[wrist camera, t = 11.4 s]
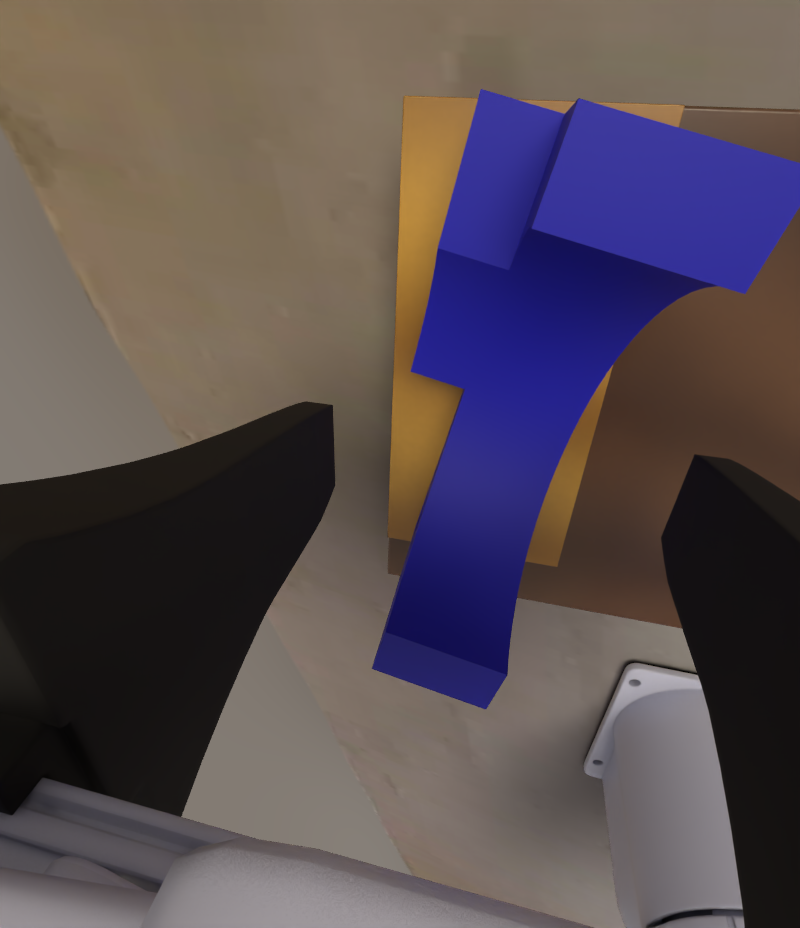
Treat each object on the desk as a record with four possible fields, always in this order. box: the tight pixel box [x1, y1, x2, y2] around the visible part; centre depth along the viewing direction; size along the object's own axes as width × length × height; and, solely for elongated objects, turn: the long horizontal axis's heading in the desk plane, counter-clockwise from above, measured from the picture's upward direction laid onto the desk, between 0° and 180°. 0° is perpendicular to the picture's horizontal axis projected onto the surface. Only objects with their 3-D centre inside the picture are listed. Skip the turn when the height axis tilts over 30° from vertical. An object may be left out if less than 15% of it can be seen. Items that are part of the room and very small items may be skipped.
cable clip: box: [372, 89, 800, 709], centre depth 12 cm, size 12×4×6 cm, turn 166°
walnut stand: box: [388, 96, 800, 628], centre depth 16 cm, size 15×17×4 cm
